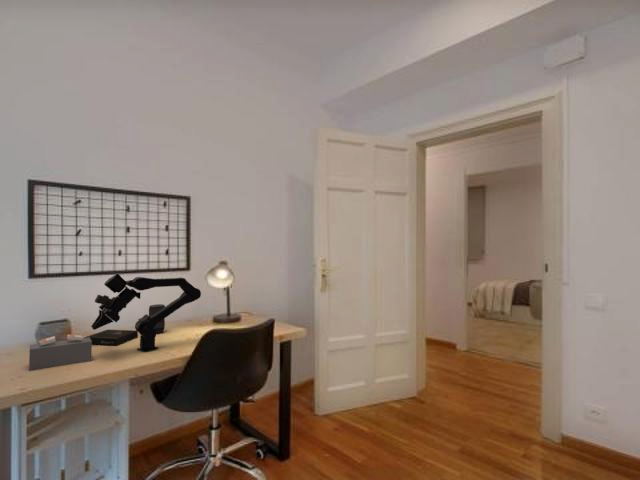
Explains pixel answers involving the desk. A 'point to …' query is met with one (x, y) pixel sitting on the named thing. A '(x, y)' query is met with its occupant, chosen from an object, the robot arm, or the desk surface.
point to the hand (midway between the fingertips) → (92, 328)
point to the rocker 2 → (74, 337)
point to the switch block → (60, 353)
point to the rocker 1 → (47, 340)
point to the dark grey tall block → (160, 326)
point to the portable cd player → (112, 337)
